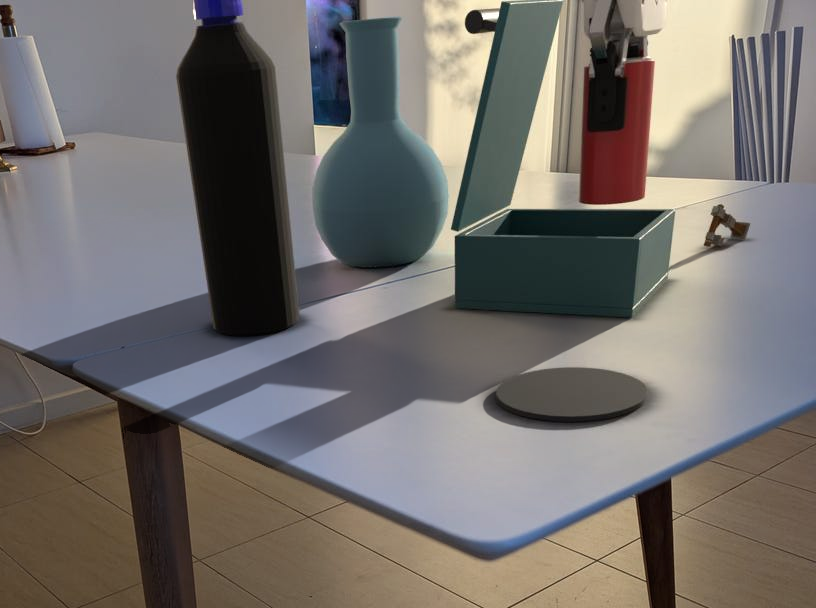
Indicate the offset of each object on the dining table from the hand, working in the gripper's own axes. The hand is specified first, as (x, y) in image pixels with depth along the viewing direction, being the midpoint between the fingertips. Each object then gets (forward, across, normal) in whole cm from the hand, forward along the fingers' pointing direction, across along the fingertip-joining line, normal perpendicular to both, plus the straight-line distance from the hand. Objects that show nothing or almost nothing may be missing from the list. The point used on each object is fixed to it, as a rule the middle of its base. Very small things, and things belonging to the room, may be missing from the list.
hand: (615, 124), depth 83 cm
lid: (-1, 0, +10) cm, 10 cm away
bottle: (+15, -17, +31) cm, 38 cm away
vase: (+14, +13, +32) cm, 37 cm away
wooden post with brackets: (+15, +26, -7) cm, 31 cm away
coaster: (+15, -29, -5) cm, 33 cm away
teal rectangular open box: (+15, 0, +4) cm, 16 cm away
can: (+6, 0, 0) cm, 6 cm away
